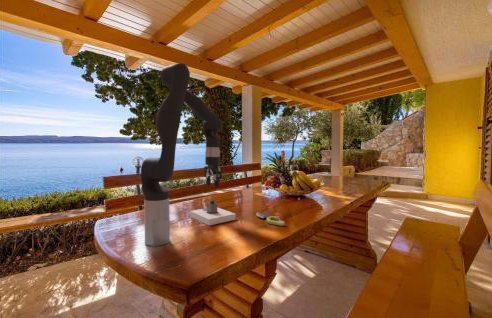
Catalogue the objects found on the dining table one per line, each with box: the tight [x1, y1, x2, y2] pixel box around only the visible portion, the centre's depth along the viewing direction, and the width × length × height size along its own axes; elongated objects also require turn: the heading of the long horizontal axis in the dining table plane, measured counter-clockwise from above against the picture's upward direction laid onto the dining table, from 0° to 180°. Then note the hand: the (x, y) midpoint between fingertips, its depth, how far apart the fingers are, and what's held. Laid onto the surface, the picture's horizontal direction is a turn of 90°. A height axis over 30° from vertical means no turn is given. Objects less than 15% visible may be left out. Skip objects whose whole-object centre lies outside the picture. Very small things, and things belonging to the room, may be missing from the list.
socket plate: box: [189, 206, 236, 226], centre depth 127 cm, size 20×16×4 cm
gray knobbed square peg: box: [206, 199, 218, 214], centre depth 127 cm, size 4×4×10 cm
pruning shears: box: [255, 211, 286, 227], centre depth 124 cm, size 8×3×25 cm
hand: (212, 186), depth 126 cm, fingers open, 8 cm apart
